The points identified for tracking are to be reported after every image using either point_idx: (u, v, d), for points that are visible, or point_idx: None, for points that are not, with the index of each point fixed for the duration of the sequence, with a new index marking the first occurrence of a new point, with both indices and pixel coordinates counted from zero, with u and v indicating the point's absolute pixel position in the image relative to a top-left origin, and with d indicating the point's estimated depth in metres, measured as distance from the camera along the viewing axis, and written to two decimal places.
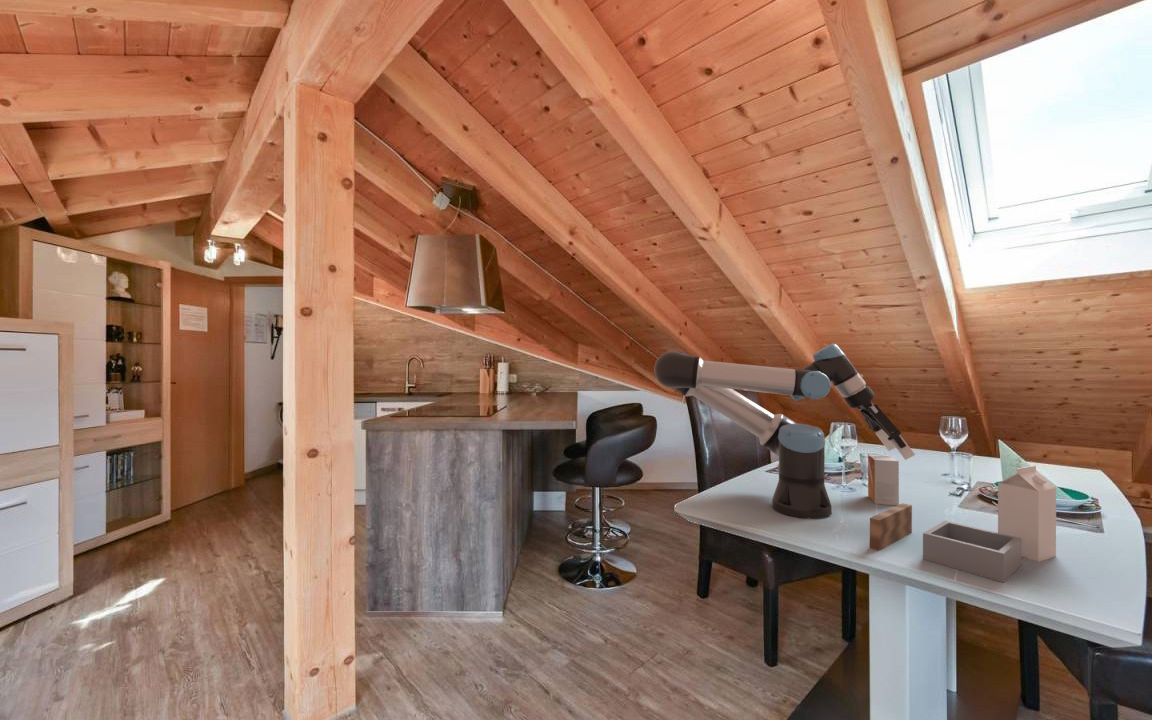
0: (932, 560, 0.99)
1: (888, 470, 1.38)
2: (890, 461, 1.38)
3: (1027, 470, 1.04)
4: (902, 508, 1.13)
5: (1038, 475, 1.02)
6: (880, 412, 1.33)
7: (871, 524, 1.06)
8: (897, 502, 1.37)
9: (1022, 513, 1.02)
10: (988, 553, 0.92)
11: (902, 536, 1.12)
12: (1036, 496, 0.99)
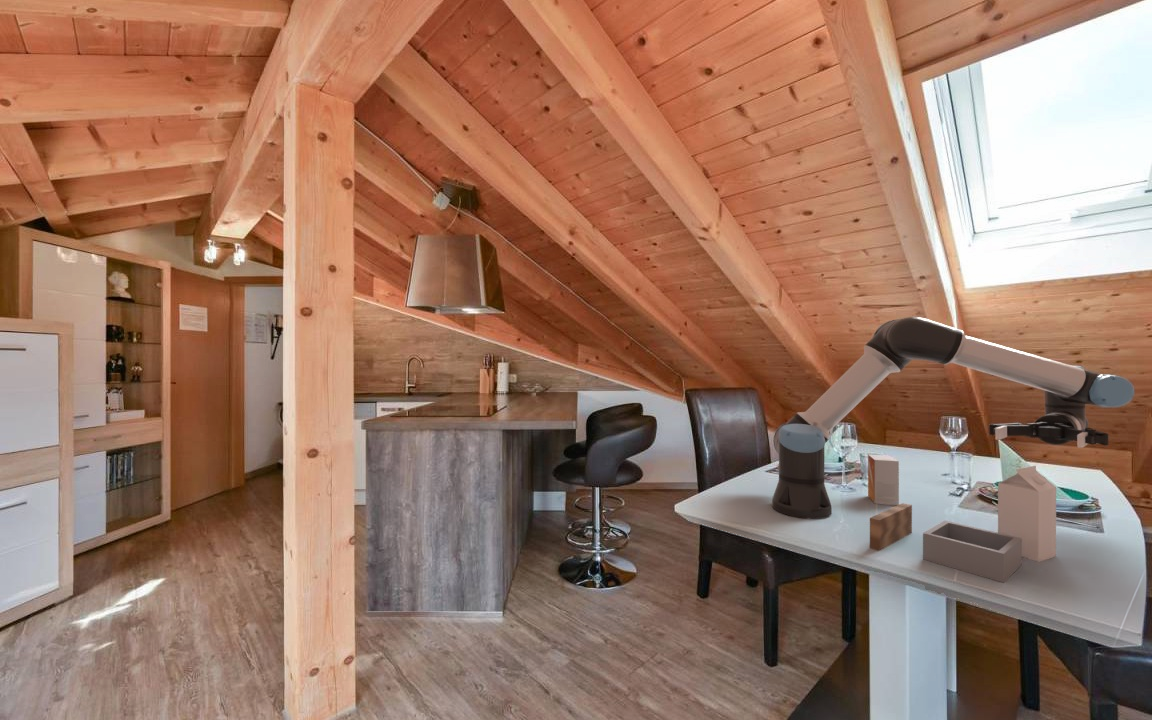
0: (932, 560, 0.99)
1: (888, 470, 1.38)
2: (890, 461, 1.38)
3: (1027, 470, 1.04)
4: (902, 508, 1.13)
5: (1038, 475, 1.02)
6: None
7: (871, 524, 1.06)
8: (897, 502, 1.37)
9: (1022, 513, 1.02)
10: (988, 553, 0.92)
11: (902, 536, 1.12)
12: (1036, 496, 0.99)
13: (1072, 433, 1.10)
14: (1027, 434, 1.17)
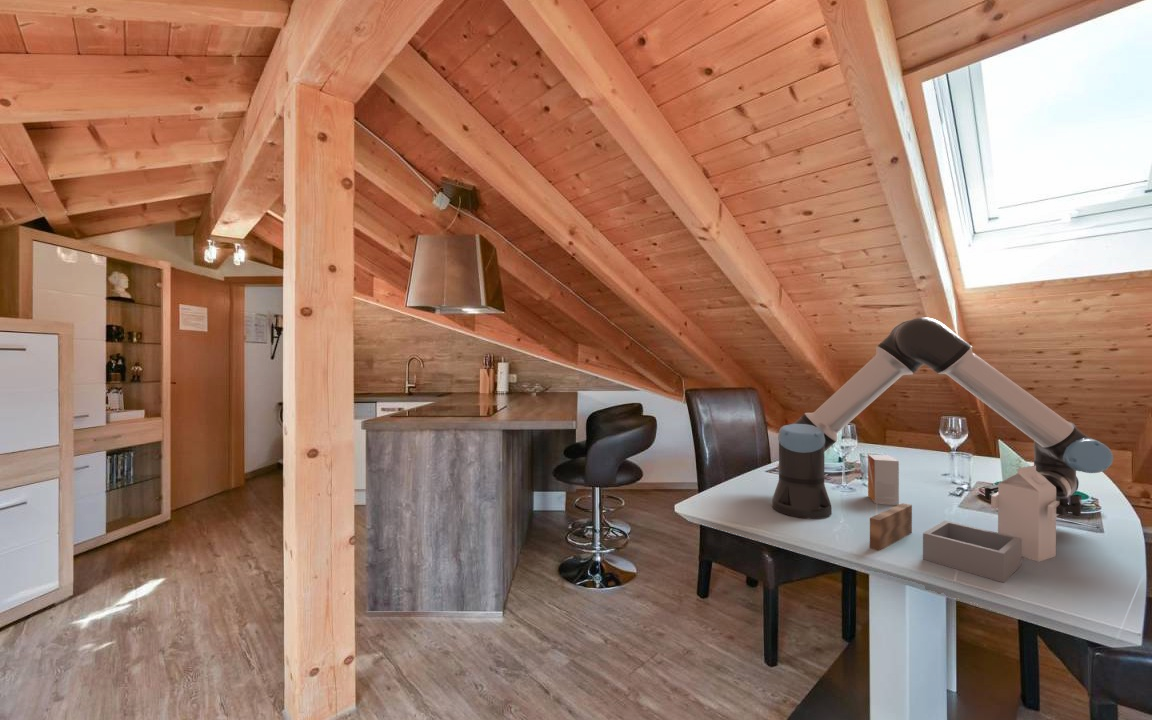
0: (932, 560, 0.99)
1: (888, 470, 1.38)
2: (890, 461, 1.38)
3: (1027, 470, 1.04)
4: (902, 508, 1.13)
5: (1038, 475, 1.02)
6: None
7: (871, 524, 1.06)
8: (897, 502, 1.37)
9: (1022, 513, 1.02)
10: (988, 553, 0.92)
11: (902, 536, 1.12)
12: (1036, 496, 0.99)
13: None
14: None
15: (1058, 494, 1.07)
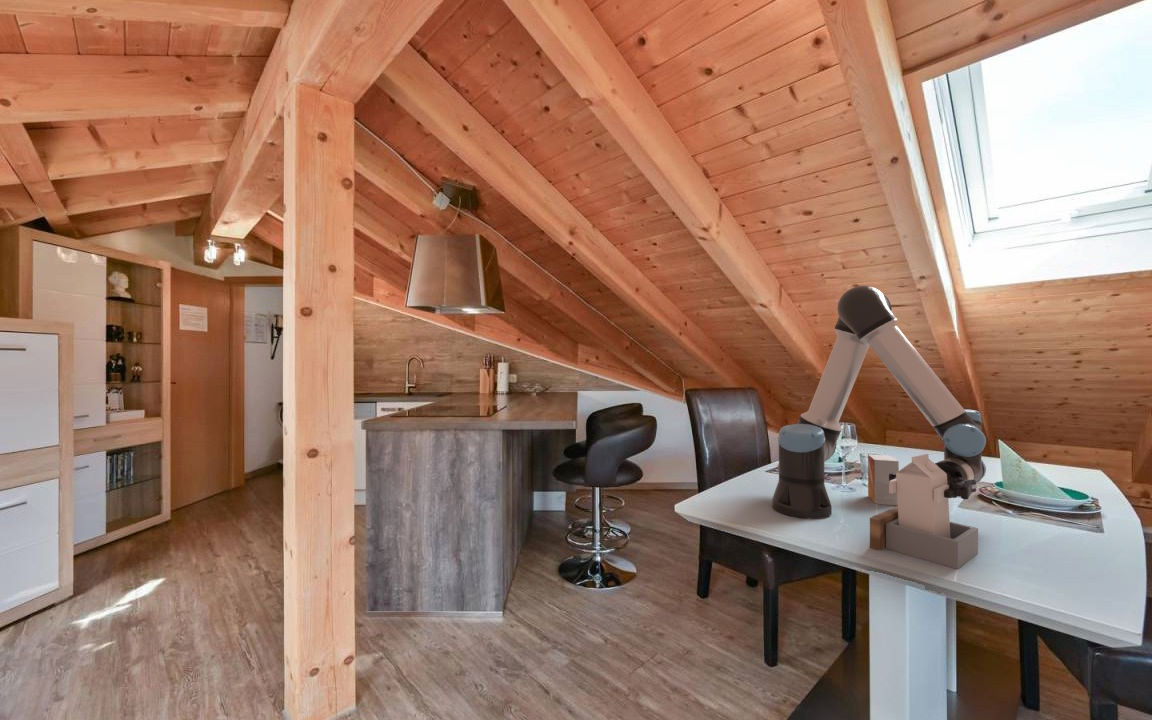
0: (894, 549, 1.05)
1: (888, 470, 1.38)
2: (890, 461, 1.38)
3: (921, 458, 1.06)
4: None
5: (930, 462, 1.04)
6: (971, 490, 1.07)
7: (871, 524, 1.06)
8: (897, 502, 1.37)
9: (918, 500, 1.04)
10: (944, 542, 0.97)
11: None
12: (929, 483, 1.02)
13: None
14: None
15: (955, 479, 1.10)
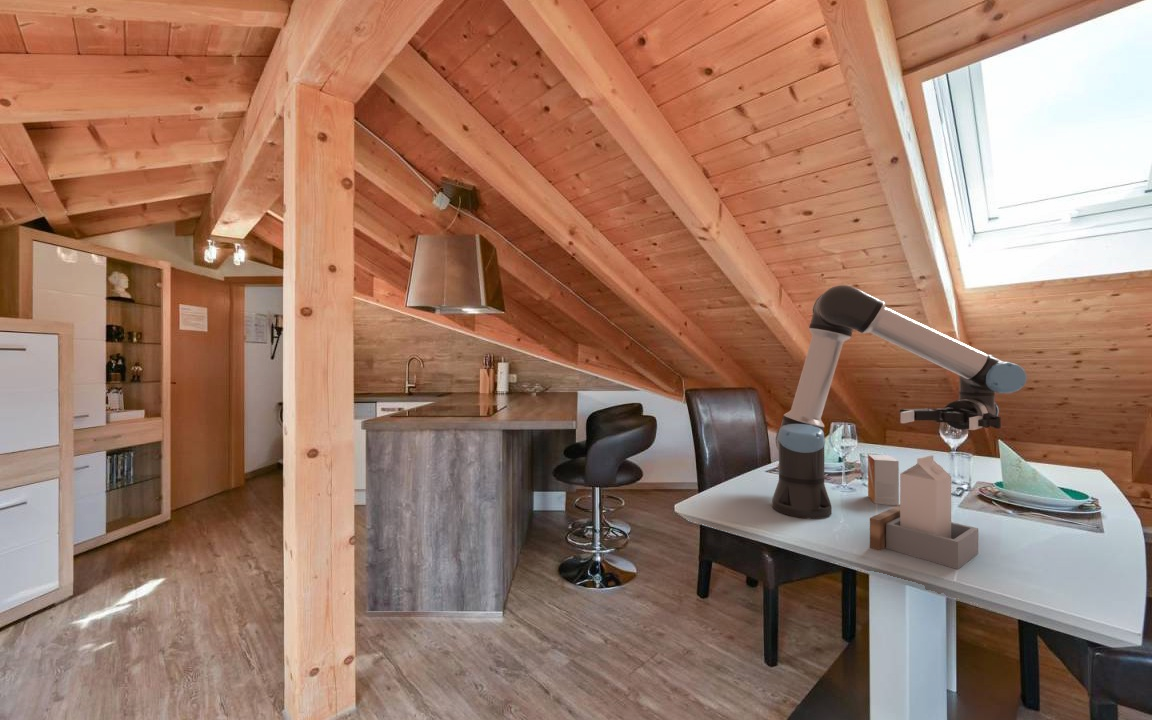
0: (894, 549, 1.05)
1: (888, 470, 1.38)
2: (890, 461, 1.38)
3: (926, 460, 1.06)
4: None
5: (936, 464, 1.04)
6: None
7: (871, 524, 1.06)
8: (897, 502, 1.37)
9: (921, 502, 1.03)
10: (944, 542, 0.97)
11: None
12: (934, 485, 1.01)
13: None
14: (934, 419, 1.22)
15: (973, 414, 1.17)
